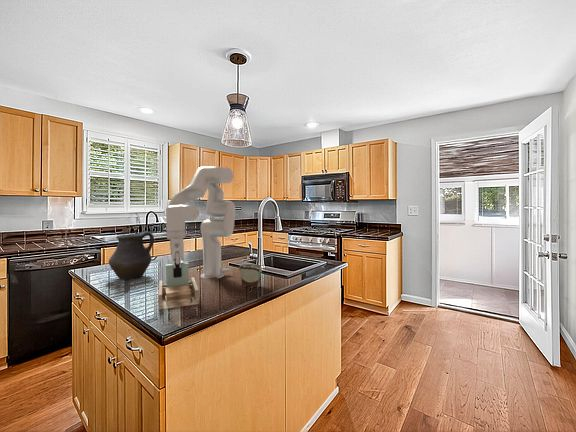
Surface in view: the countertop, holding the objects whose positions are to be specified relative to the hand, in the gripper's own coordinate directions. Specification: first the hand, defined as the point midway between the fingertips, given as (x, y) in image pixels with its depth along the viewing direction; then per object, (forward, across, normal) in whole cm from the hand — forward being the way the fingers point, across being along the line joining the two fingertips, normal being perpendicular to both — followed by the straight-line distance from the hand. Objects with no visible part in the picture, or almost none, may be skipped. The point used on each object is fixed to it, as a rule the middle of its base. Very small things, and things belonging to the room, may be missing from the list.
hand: (177, 275), depth 123 cm
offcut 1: (+5, -10, 0) cm, 11 cm away
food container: (+10, +3, -35) cm, 36 cm away
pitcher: (+10, +43, +21) cm, 49 cm away
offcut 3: (+8, -10, 0) cm, 12 cm away
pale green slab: (+7, 0, 0) cm, 7 cm away
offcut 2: (+6, -9, 0) cm, 11 cm away
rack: (+9, -6, 0) cm, 11 cm away
